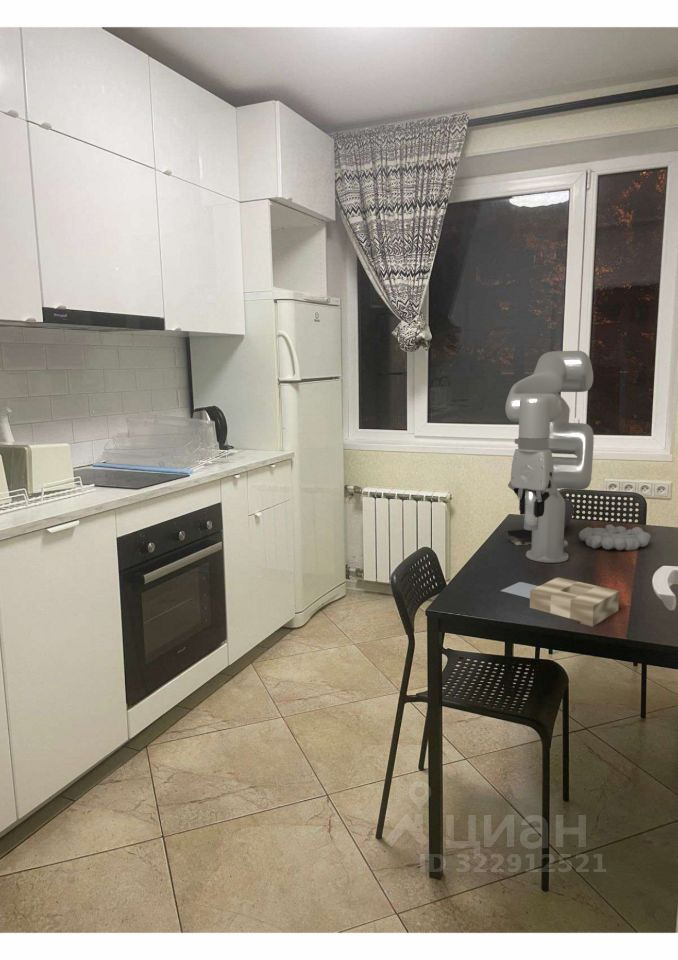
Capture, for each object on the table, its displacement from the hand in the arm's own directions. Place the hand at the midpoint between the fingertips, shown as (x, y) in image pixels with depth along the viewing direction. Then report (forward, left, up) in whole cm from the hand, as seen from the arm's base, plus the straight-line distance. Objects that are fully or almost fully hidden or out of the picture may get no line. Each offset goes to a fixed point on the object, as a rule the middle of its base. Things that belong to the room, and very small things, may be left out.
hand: (531, 514), depth 174 cm
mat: (0, -1, -21) cm, 21 cm away
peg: (0, 0, -4) cm, 4 cm away
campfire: (-61, -4, -22) cm, 65 cm away
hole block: (+4, +14, -21) cm, 26 cm away
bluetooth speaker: (-69, -28, -22) cm, 78 cm away
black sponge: (-48, -26, -22) cm, 59 cm away
